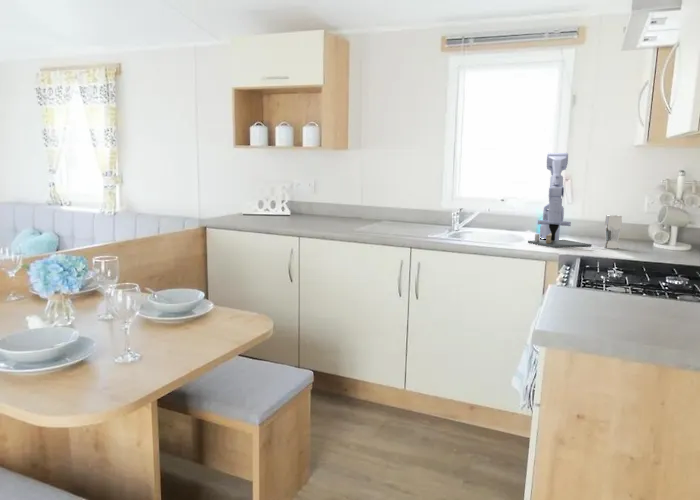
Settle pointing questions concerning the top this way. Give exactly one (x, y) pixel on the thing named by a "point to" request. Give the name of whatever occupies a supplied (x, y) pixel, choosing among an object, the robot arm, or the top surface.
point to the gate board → (558, 243)
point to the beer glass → (612, 231)
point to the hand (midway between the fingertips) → (552, 240)
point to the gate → (549, 238)
